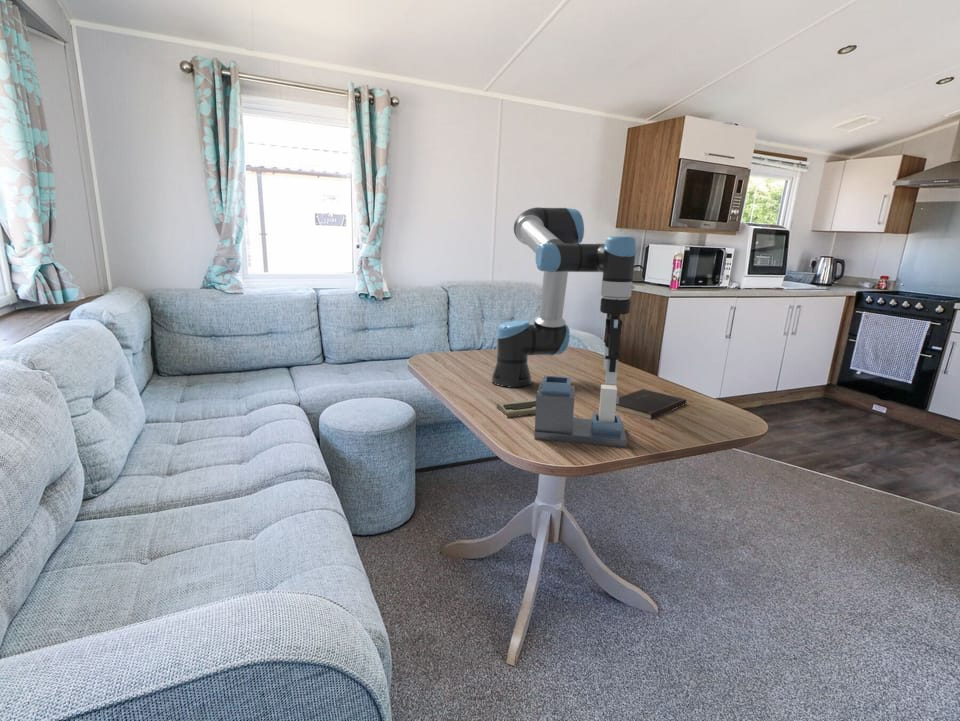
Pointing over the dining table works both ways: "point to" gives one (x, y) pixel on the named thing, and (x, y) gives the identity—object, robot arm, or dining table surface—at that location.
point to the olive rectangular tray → (517, 407)
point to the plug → (608, 403)
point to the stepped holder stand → (571, 417)
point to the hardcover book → (648, 403)
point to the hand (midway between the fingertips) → (609, 376)
